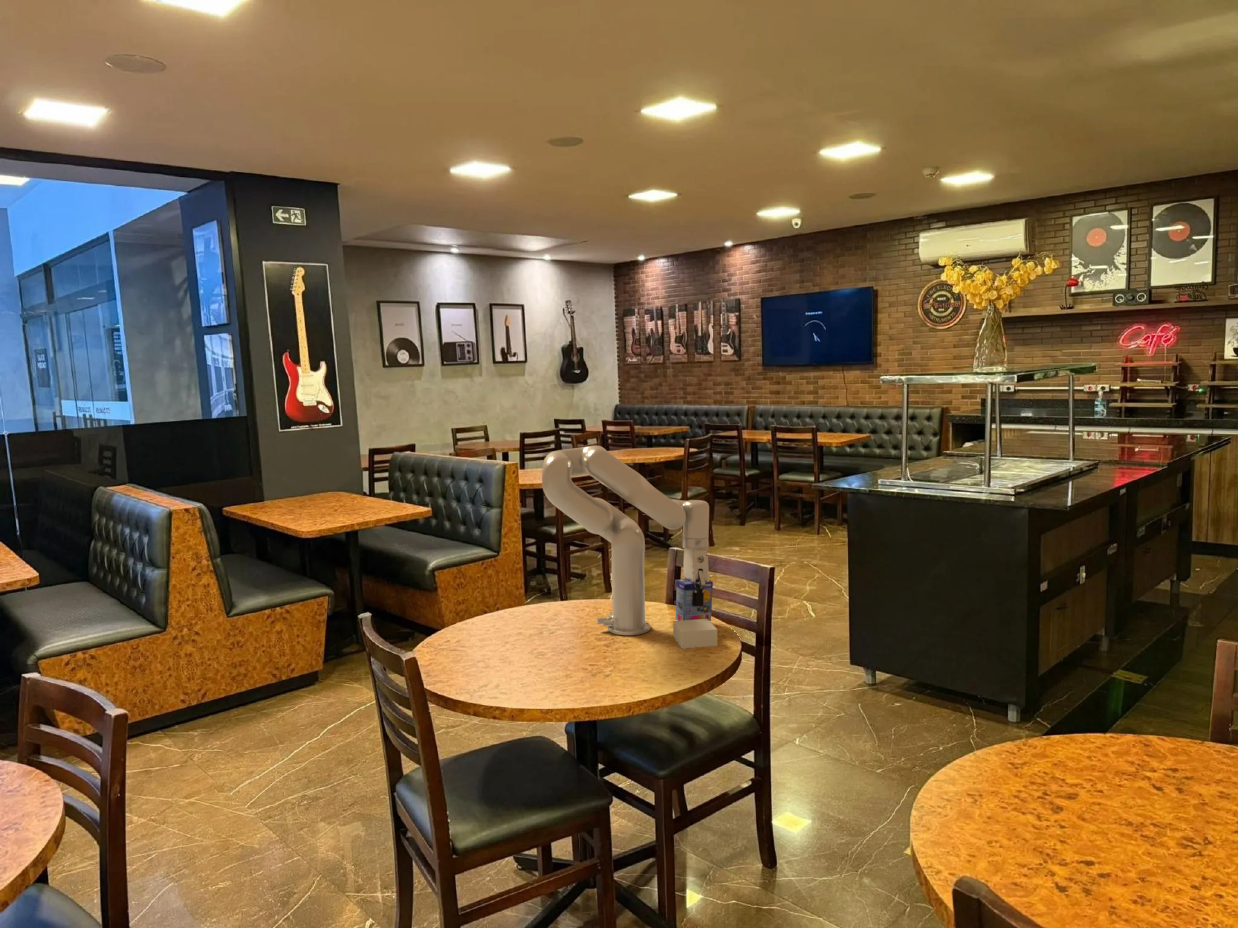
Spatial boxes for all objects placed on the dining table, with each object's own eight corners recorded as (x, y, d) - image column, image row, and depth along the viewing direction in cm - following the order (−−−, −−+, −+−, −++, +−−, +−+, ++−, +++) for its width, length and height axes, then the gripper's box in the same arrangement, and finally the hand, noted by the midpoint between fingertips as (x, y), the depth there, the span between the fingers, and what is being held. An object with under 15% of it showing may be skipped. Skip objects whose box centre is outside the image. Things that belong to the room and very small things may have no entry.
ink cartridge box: (683, 625, 246) (684, 576, 244) (674, 619, 250) (675, 572, 249) (712, 621, 250) (713, 573, 248) (703, 616, 255) (704, 569, 253)
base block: (681, 649, 231) (681, 631, 230) (673, 638, 241) (673, 621, 240) (717, 646, 233) (717, 629, 232) (707, 635, 242) (707, 618, 242)
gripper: (717, 548, 240) (716, 610, 242) (697, 536, 257) (696, 594, 259) (692, 549, 238) (691, 611, 240) (674, 537, 255) (673, 595, 257)
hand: (694, 601), depth 249 cm, fingers closed on ink cartridge box, 5 cm apart
